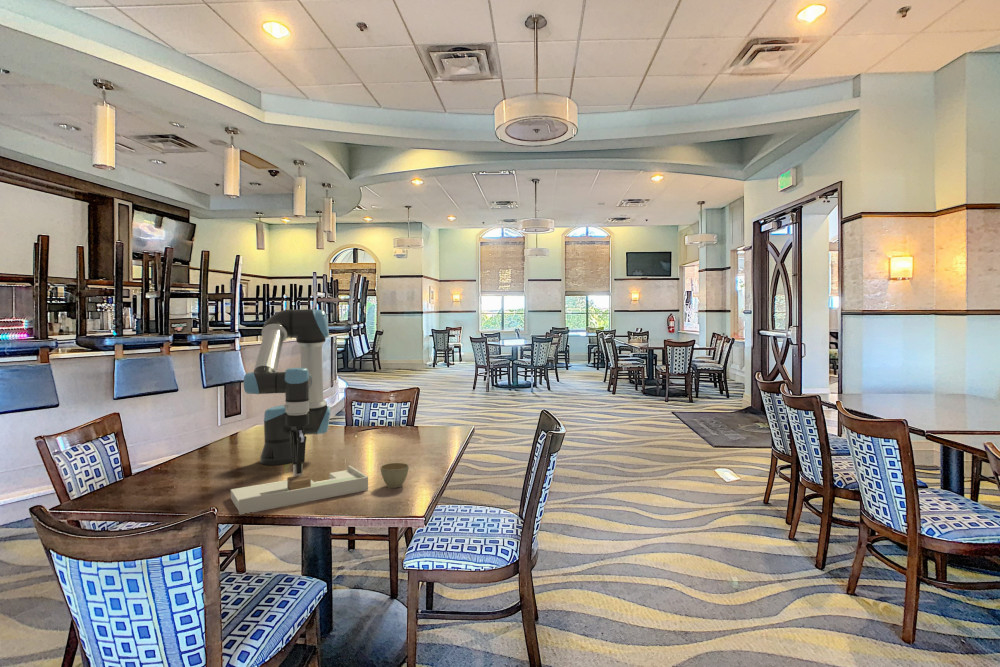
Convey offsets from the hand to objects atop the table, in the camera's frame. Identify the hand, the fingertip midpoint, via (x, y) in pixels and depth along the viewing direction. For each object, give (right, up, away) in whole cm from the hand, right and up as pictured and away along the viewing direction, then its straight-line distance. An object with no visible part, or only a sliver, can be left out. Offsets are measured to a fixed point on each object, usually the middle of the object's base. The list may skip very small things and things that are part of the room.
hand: (298, 482), depth 181 cm
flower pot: (+31, -4, +9) cm, 33 cm away
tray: (0, -4, 0) cm, 4 cm away
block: (+2, -1, -3) cm, 4 cm away
